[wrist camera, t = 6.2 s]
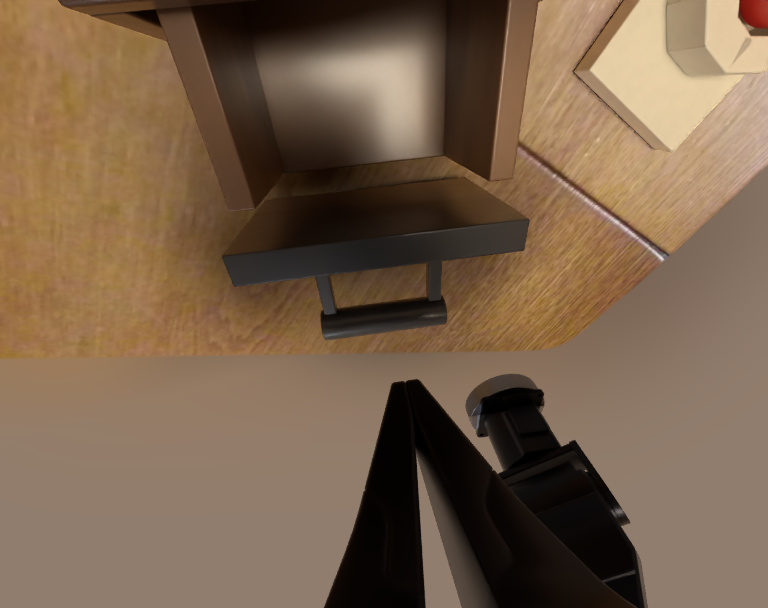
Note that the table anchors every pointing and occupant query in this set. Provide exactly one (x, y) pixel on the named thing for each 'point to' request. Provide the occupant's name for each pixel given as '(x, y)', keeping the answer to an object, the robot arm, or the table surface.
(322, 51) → the brown drawer
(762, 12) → the button
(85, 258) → the table surface
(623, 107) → the control block
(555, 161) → the table surface
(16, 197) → the table surface
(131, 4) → the brown wooden drawer box
